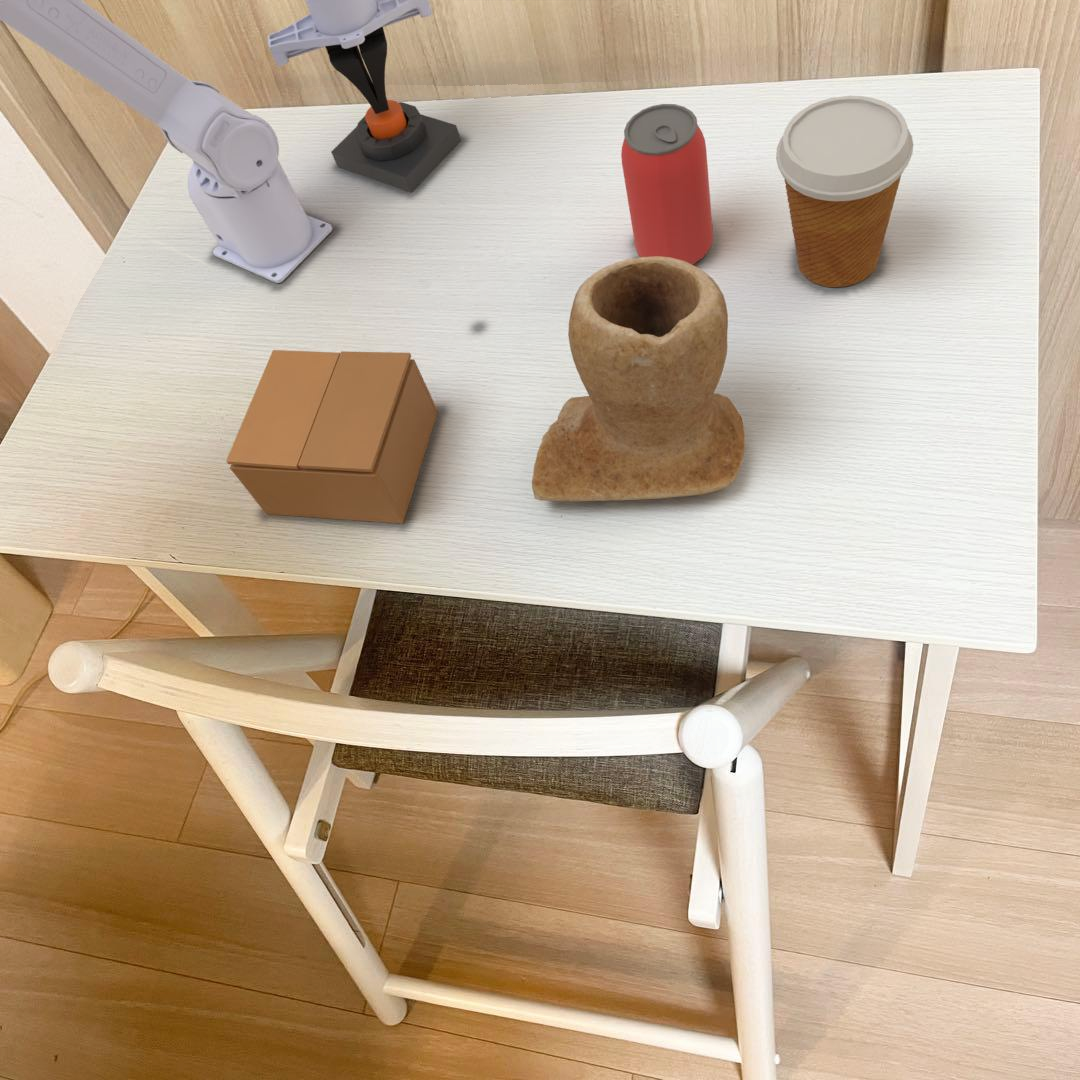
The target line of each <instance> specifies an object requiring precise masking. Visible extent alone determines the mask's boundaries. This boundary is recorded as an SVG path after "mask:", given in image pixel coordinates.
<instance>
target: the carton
mask: <svg viewBox="0 0 1080 1080" xmlns="http://www.w3.org/2000/svg"><path fill="white" fill-rule="evenodd" d="M339 353H340V356H339V358H338V361H337V364H336V366H335V369H334V371H333V374H332V377H331V379H330V382H329V385H328V387H327V390H326V392H325V395H324V398H323V400H322V403H321V406H320V408H319V411H318V413H317V416H316V419H315V421H314V424H313V427H312V429H311V432H310V435H309V437H308V440H307V442H306V445H305V448H304V450H303V453H302V456H301V458H300V461H299V463H298V466H299V469H288V468H274V467H261V466H247V465H233V464H230V466H229V469H230V470H231V472H232V473H233V474H234V475H235V477H236V479H238V480H239V482H240V483H241V484H242V486H243V487H244V488H245V489H246V490H247V492H248V493H249V494H250V495H251V497H252V498H253V499H254V501H255V502H256V504H257V505H258V506H259V507H260V508H261V509H262V511H263V512H264V513H265V514H266V515H273V516H274V515H275V516H277V515H278V516H287V517H288V516H289V517H302V518H303V517H305V518H315V519H316V518H318V519H333V520H344V521H359V522H374V523H388V524H401V525H402V524H404V522H405V519H406V515H407V513H408V509H409V506H410V503H411V500H412V496H413V494H414V491H415V487H416V484H417V481H418V477H419V474H420V471H421V467H422V465H423V464H422V463H423V461H424V458H425V455H426V451H427V449H428V444H429V442H430V438H431V436H432V432H433V428H434V426H435V422H436V420H437V415H438V412H439V410H438V408H437V406H436V404H435V402H434V400H433V398H432V397H433V396H432V395H431V392H430V390H429V388H428V386H427V384H426V382H425V380H424V377H423V375H422V373H421V371H420V369H419V367H418V364H417V362H416V360H415V359H413V358H412V355H411V352H390V351H389V352H387V351H385V352H384V351H348V350H347V351H346V350H345V351H343V350H341V351H340V352H339Z"/></svg>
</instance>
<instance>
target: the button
mask: <svg viewBox="0 0 1080 1080" xmlns="http://www.w3.org/2000/svg"><path fill="white" fill-rule="evenodd" d="M387 102H388V106H389V110H387V111H384V112H381V113H378V114H375V112H374V110H373V109H372V107H371V106H370V107H369V108H368V109H367V110H366V112H365V115H364V116H365V119H366V122H367V124H368V127H369V129H370V132H371V134H372V136H373V137H374V138H376V139H387V138H392V137H394V136H396V135H398V134H400V133H401V132H402V131H403V130H404V129H405V128H406V125H407V122H406V119H405V116H404V113H403V110H402V108H401V105H400V104H399V103H398V101H397V100H393V99H387Z"/></svg>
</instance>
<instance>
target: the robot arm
mask: <svg viewBox="0 0 1080 1080" xmlns="http://www.w3.org/2000/svg"><path fill="white" fill-rule="evenodd" d="M304 2H305V4H306V6H307V7H306V8H307V9H308V12H309V14H308V15H305V16H304V17H302V18H300V19H298V20H297V21H295V22H293V23H291V24H290V25H288V26H286V27H284V28H282V29H280V30H277V31H276V32H273V33H269V34H267V36H266V37H267V44H268V49H269V51H270V54H271V55H272V57H273V60H274V62H275V64H276V66H277V67H279V68H280V67H281V66H284V65H287V64H289V62H290V59H292V58H295V57H299V56H301V55H304V54H307V53H311V52H313V51H316V50H319V49H322V48H325V49H326V53H327V55H328V59H329V63H330V64H331V65H332V67H333V68H334V70H336V71H337V72H338V73H340V75H342V76H344V77H345V79H347V80H348V81H349V82H350V83H351V84H352V85H353V86H354V87H355V88H356V89H357V90H358V91H359V92H360V93H361V94H362V96H363V97H364V98H365V100H366V101H367V102H368V104H369V105H370V107H372V109H373V110H374V112H375V114H378V113H381V112H384V111H387V110H389V106H388V102H387V100H388V97H387V94H386V93H387V92H386V63H387V57H388V42H387V37H386V34H385V29H384V27H387V26H391V25H393V24H394V25H395V24H397V23H400V22H402V21H405V20H408V19H412V18H414V17H417V16H419V17H420V18H427V17H430V16H433V10H432V7H431V6H432V5H431V4H430V0H304ZM0 21H1V22H3V23H4V24H6V25H7V26H9V27H10V28H11V29H13V30H15V31H16V32H18V33H19V34H20V35H22V36H24V37H25V38H27V39H28V40H29V41H31V42H32V43H34V44H36V45H37V46H39V47H40V48H41V49H43V50H45V51H46V52H47V53H49V54H50V55H52V56H53V57H55V58H56V59H58V60H60V61H61V62H63V63H64V64H65V65H67V66H68V67H69V68H71V69H73V70H74V71H76V72H77V73H79V74H80V75H81V76H83V77H84V78H86V79H88V80H89V81H91V82H92V83H93V84H95V85H97V86H98V87H100V88H101V89H102V90H104V91H106V92H107V93H109V95H112V96H113V97H114V98H116V99H117V100H119V101H120V102H121V103H123V104H125V105H127V107H129V108H131V109H133V110H134V111H135V112H137V113H139V114H140V115H141V116H143V117H144V118H146V119H147V120H149V121H150V122H152V123H153V124H155V125H156V126H158V127H159V129H160V131H161V133H162V134H163V136H164V138H165V140H166V141H167V143H168V144H169V145H170V146H171V147H172V148H173V149H174V150H176V151H178V152H179V153H181V154H184V155H186V157H188V158H189V159H191V160H192V162H193V164H192V165H191V167H190V169H189V172H188V175H187V190H188V196H189V198H190V200H191V203H192V204H193V206H194V207H195V208H196V211H197V212H198V214H199V215H200V217H201V219H202V220H203V221H204V222H203V223H204V224H205V225H206V227H207V228H208V230H209V231H210V233H211V235H212V236H213V238H214V240H215V242H216V243H217V244H218V245H217V246H216V247H215V248H214V249H213V250H212V253H213V255H214V257H216V258H218V259H221V260H223V261H225V262H228V263H230V264H232V265H234V266H237V267H240V268H241V269H244V270H246V271H248V272H249V273H252V274H254V275H257V276H259V277H261V278H264V279H266V280H268V281H271V282H273V283H276V284H280V283H282V282H284V281H285V280H286V279H287V278H288V277H289V276H290V275H291V274H292V273H293V271H295V270H296V268H297V267H298V266H299V265H300V264H301V263H302V262H303V261H304V260H306V258H307V257H308V256H309V255H310V254H311V253H312V252H313V251H314V250H315V249H316V248H317V247H318V246H319V245H320V244H321V243H322V242H323V241H324V240H325V239H326V238H327V237H328V236H329V234H330V233H332V231H333V230H334V229H333V227H332V224H331V223H328V222H326V221H323V220H321V219H318V218H316V217H313V216H310V215H308V214H307V213H306V212H305V210H304V208H303V206H302V204H301V202H300V200H299V198H298V196H297V193H296V191H295V190H294V188H293V186H292V184H291V182H290V180H289V178H288V176H287V173H286V172H285V170H284V168H283V166H282V164H281V162H280V160H279V155H280V145H279V144H280V143H279V140H278V136H277V134H276V132H275V130H274V128H273V127H272V125H270V123H269V122H267V121H266V120H265V119H263V118H261V117H260V116H258V115H257V114H252V113H251V112H250V111H248V110H247V109H245V108H244V107H241V106H240V105H238V104H237V103H236V102H234V101H233V100H231V99H230V98H228V97H227V96H225V95H223V94H222V93H221V92H220V91H219V90H218V89H217V88H215V87H214V86H213V85H212V84H210V83H208V82H204V81H200V80H194V79H193V80H192V79H188V78H187V77H185V76H184V75H183V74H182V73H181V72H179V71H178V70H176V69H175V68H173V66H171V65H170V64H168V63H167V62H166V61H164V60H163V59H162V58H160V57H159V56H158V55H156V54H155V53H153V52H152V51H151V50H150V49H148V48H147V47H145V46H144V45H143V44H141V43H140V42H139V41H138V40H136V39H134V37H132V36H130V35H129V34H128V33H126V31H124V30H123V29H121V28H120V27H118V26H117V25H116V24H114V23H113V22H112V21H110V20H109V19H107V17H105V16H103V15H102V14H101V13H99V12H98V11H97V10H96V9H94V8H92V7H91V6H90V5H89V4H87V3H86V2H85V1H83V0H0Z"/></svg>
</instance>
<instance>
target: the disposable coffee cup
mask: <svg viewBox="0 0 1080 1080" xmlns="http://www.w3.org/2000/svg"><path fill="white" fill-rule="evenodd" d="M913 152H914V140H913V136H912V134H911V132H910V130H909V128H908V124H907V121H906V119H905V117H904V115H903V114H902V113H901V112H900V111H899V110H898V109H897V108H896V107H894V106H893V105H891V104H890V103H888V102H886V101H883V100H882V99H878V98H874V97H870V96H865V95H842V96H834V97H829V98H826V99H822V100H819V101H817V102H814V103H812V104H810V105H808V106H807V107H804V108H803V109H801V110H800V111H799V112H797V113H796V114H795V115H794V116H793V117H792V118H791V119H790V120H789V122H788V123H787V125H786V127H785V128H784V131H783V135H782V136H781V137H780V139H779V142H778V143H777V147H776V153H775V154H776V155H775V161H776V165H777V168H778V170H779V172H780V174H781V176H782V177H783V178H784V179H783V180H784V184H785V190H786V191H785V193H786V196H787V203H788V209H789V215H790V221H791V228H792V233H793V234H792V235H793V241H794V247H795V253H796V260H797V266H798V268H799V271H800V273H801V274H802V275H803V276H804V277H805V278H806V279H807V280H808V281H810V282H811V283H814V284H816V285H819V286H823V287H827V288H843V287H849V286H852V285H853V286H854V285H856V284H858V283H861V282H862V281H864V280H866V279H867V278H868V277H870V275H872V274H873V272H874V271H876V268H877V266H878V263H879V259H880V255H881V251H882V248H883V244H884V240H885V237H886V234H887V229H888V226H889V223H890V218H891V215H892V212H893V207H894V204H895V200H896V197H897V194H898V189H899V185H900V182H901V178H902V174H903V173H904V171H905V170H906V168H907V167H908V166H909V163H910V161H911V159H912V156H913Z"/></svg>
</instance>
